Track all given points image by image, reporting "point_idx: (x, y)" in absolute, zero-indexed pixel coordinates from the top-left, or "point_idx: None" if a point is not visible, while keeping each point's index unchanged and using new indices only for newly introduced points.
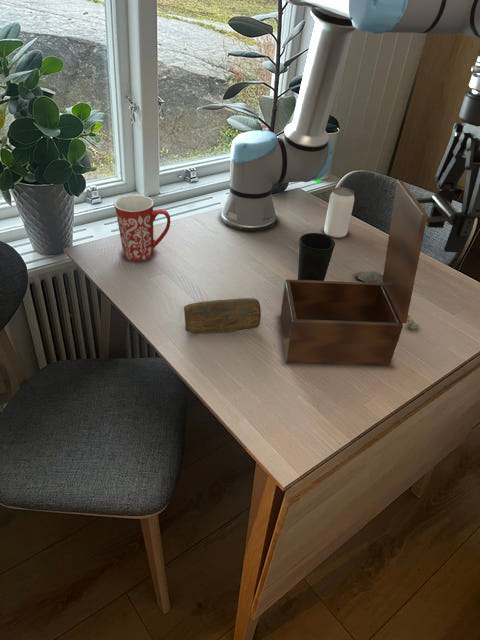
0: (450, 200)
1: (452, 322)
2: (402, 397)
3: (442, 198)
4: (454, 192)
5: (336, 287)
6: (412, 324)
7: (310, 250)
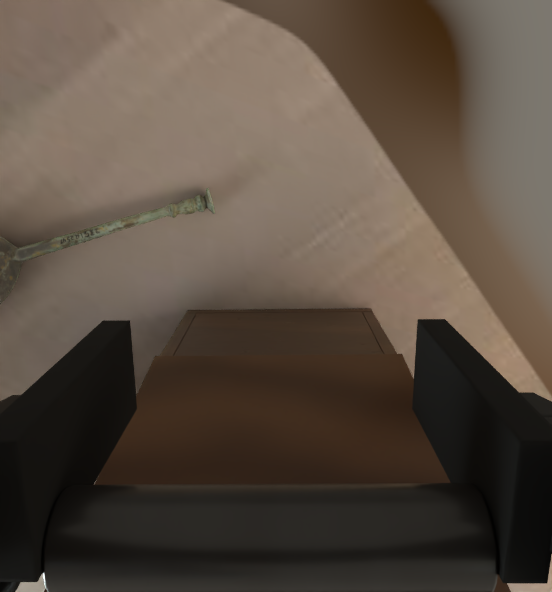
0: (55, 420)
1: (160, 53)
2: (477, 304)
3: (175, 588)
4: (8, 446)
5: None
6: (206, 206)
7: (19, 583)
